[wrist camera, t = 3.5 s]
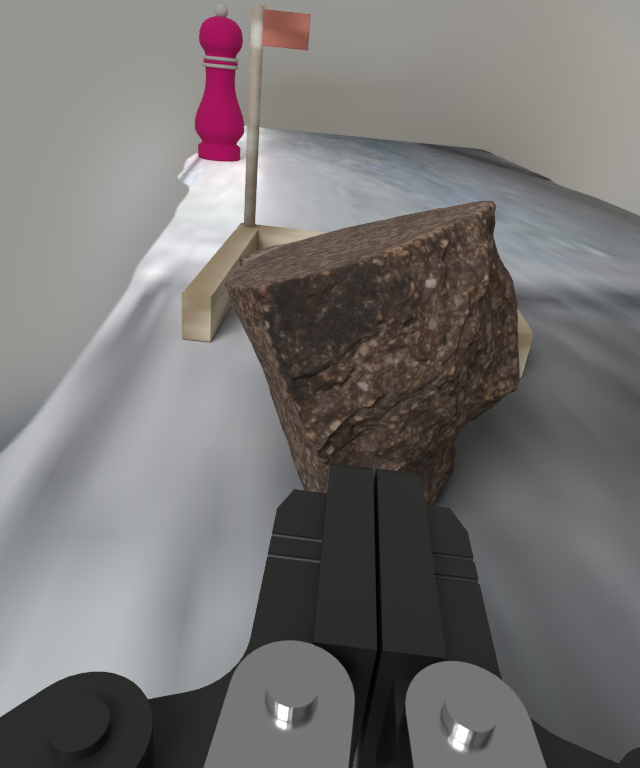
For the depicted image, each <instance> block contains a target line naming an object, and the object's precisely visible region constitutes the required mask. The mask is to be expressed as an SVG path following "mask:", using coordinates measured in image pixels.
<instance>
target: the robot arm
mask: <svg viewBox="0 0 640 768" xmlns="http://www.w3.org/2000/svg"><path fill="white" fill-rule="evenodd" d="M356 748H357V763H356V768H640V747H639V748H636V749H633V750H632V751H630V752H629V753H627V754H626V755H625V757H624V758H623V759H622V760H621V762H620V764H618V763H616V762H613V761H611V760H609V759H607V758H604V757H602V756H600V755H597V754H595V753H593V752H591V751H588V750H586V749H584V748H582V747H579V746H577V745H575V744H572V743H570V742H568V741H566V740H564V739H562V738H560V737H558V736H556V735H554V734H552V733H550V732H549V731H547V730H546V729H544V728H543V727H541V726H540V725H539V724H537V723H536V722H535V721H534V720H532V719H531V718H530V717H529V715H528V713H527V710H526V708H525V707H524V705H523V703H522V702H521V700H520V699H519V697H518V696H517V695H516V694H515V692H514V691H513V690H512V689H511V688H510V687H509V686H508V685H507V684H506V683H505V682H504V681H503V680H502V678H501V675H500V672H499V668H498V664H497V659H496V655H495V650H494V646H493V642H492V637H491V633H490V628H489V624H488V620H487V615H486V611H485V607H484V602H483V598H482V593H481V589H480V585H479V584H478V576H477V571H476V567H475V563H474V562H473V554H472V549H471V545H470V541H469V536H468V532H467V530H466V529H465V528H464V526H463V525H462V524H461V523H460V521H459V520H458V519H457V517H456V516H455V515H454V513H453V512H452V511H451V509H450V508H443V507H435V506H427V505H425V500H424V493H423V486H422V479H421V475H420V474H418V473H410V472H402V471H394V470H386V469H378V468H376V469H375V472H374V476H373V468H368V467H360V466H352V465H344V464H336V463H330V464H329V470H328V477H327V485H326V493H320V492H312V491H304V490H296V489H294V490H293V491H292V492H291V494H290V495H289V496H288V497H287V498H286V499H285V500H284V501H283V502H282V503H281V505H280V506H279V507H278V508H277V512H276V517H275V522H274V527H273V531H272V537H271V541H270V546H269V551H268V557H267V560H266V565H265V570H264V575H263V580H262V585H261V590H260V594H259V599H258V604H257V609H256V614H255V619H254V624H253V628H252V633H251V638H250V641H249V645H248V647H247V649H246V651H245V653H244V655H243V657H242V658H241V660H240V661H239V662H238V664H237V665H236V666H235V667H234V668H233V669H232V670H231V671H230V672H229V673H227V674H226V675H225V676H223V677H222V678H221V679H219V680H217V681H216V682H214V683H212V684H210V685H208V686H205V687H203V688H200V689H197V690H193V691H189V692H185V693H179V694H174V695H169V696H163V697H158V698H153V699H147V697H146V696H145V694H144V693H143V692H142V690H141V689H140V688H139V687H138V686H137V685H136V684H135V683H134V682H132V681H130V680H129V679H127V678H125V677H123V676H120V675H117V674H114V673H108V672H87V673H80V674H77V675H73V676H69V677H67V678H64V679H62V680H60V681H57V682H55V683H54V684H52V685H50V686H48V687H47V688H45V689H43V690H42V691H40V692H39V693H37V694H36V695H34V696H33V697H31V698H29V699H28V700H26V701H25V702H23V703H22V704H20V705H19V706H17V707H15V708H14V709H12V710H11V711H9V712H8V713H6V714H5V715H3V716H1V717H0V768H352V767H353V762H354V757H355V752H356Z"/></svg>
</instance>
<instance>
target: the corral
mask: <svg viewBox="0 0 640 768" xmlns="http://www.w3.org/2000/svg"><path fill="white" fill-rule="evenodd" d="M309 27H310V14H303V13H294V12H283V11H274V10H265V9H264V6H263V5H256V4H252V15H251V45H250V72H249V73H250V74H249V99H248V127H247V156H246V184H245V212H244V223H241V224H240V225H239V226H238V228H237V229H236V230H235V231H234V232H233V233H232V235H231V236H230V237H229V238H228V239H227V241H226V242H225V243H224V244H223V245H222V247H221V248H220V249H219V250H218V251H217V253H216V254H215V255H214V256H213V257H212V258H211V260H210V261H209V262H208V263H207V264H206V266H205V267H204V268H203V269H202V270H201V272H200V273H199V274H198V275H197V276H196V278H195V279H194V280H193V281H192V282H191V283H190V285H189V286H188V287H187V288H186V289H185V291H184V292H183V293H182V339H188V340H197V341H206V342H211V340H212V338H213V337H214V335H215V333H216V331H217V330H218V328H219V326H220V325H221V323H222V321H223V319H224V318H225V316H226V314H227V313H228V311H229V309H230V307H231V306H232V304H231V302H230V297H229V294H228V291H227V289H226V287H225V285H224V284H225V282H226V280H227V279H228V278H229V277H230V276H231V275H233V274H234V272H235V271H237V270H238V268H240V264H239V259H240V258H241V257H242V256H245V255H249V254H251V253H253V252H255V251H258V250H261V249H263V248H267V247H270V246H275V245H282V244H287V243H292V242H296V241H300V240H303V239H307V238H310V237H314V236H317V235H321V234H325V233H327V232H318V231H309V230H300V229H291V228H282V227H273V226H264V225H255V212H256V189H257V166H258V143H259V119H260V96H261V74H262V51H263V46H272V47H281V48H290V49H301V50H308V40H309ZM517 312H518V349H519V367H520V377H519V378H522V374H523V371H524V367H525V364H526V360H527V357H528V353H529V350H530V346H531V343H532V339H533V335H534V333H533V332H532V330H531V329H530V327H529V326H528V324H527V322H526V321H525V319H524V318H523V316H522V315H521V313H520V312H519V310H518V309H517Z"/></svg>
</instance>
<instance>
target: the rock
mask: <svg viewBox="0 0 640 768" xmlns="http://www.w3.org/2000/svg"><path fill="white" fill-rule="evenodd" d="M495 209H496V205H495V204H494V202H493V201H479V202H472V203H467V204H462V205H457V206H452V207H448V208H438V209H434V210H429V211H424V212H419V213H414V214H409V215H403V216H398V217H394V218H391V219H387V220H381V221H376V222H371V223H367V224H362V225H358V226H353V227H348V228H344V229H340V230H336V231H333V232H329V233H325V234H321V235H317V236H314V237H310V238H307V239H303V240H300V241H296V242H292V243H287V244H282V245H275V246H270V247H267V248H263V249H261V250H258V251H255V252H253V253H251V254H249V255H245V256H242V257H241V258H240V259H239V264H240V268H238V270H237V271H235V272H234V274H233V275H231V276H230V277H229V278H228V279H227V280H226V282H225V284H224V285H225V287H226V289H227V291H228V294H229V297H230V302H231V304H232V306H233V308H234V310H235V311H236V313H237V315H238V317H239V319H240V321H241V323H242V325H243V327H244V330H245V332H246V334H247V336H248V338H249V340H250V342H251V343H252V346H253V348H254V351H255V353H256V355H257V358H258V360H259V362H260V364H261V366H262V368H263V371H264V374H265V377H266V379H267V382H268V385H269V389H270V394H271V397H272V399H273V402H274V405H275V408H276V411H277V414H278V416H279V420H280V423H281V426H282V429H283V431H284V433H285V436H286V438H287V440H288V443H289V447H290V451H291V455H292V458H293V461H294V463H295V466H296V469H297V472H298V475H299V477H300V480H301V482H302V485H303V487H304V490H305V491H312V492H320V493H326V485H327V477H328V470H329V464H330V463H336V464H344V465H352V466H360V467H368V468H373V476H374V472H375V469H376V468H378V469H386V470H394V471H402V472H410V473H418V474H420V475H421V479H422V486H423V493H424V500H425V505H428V506H432V505H433V504H434V502H435V501H436V500H437V498H438V497H439V495H440V493H441V490H442V489H443V487H444V486H445V484H446V483H447V481H448V479H449V478H450V476H451V474H452V473H453V466H454V458H455V455H456V452H455V448H454V444H453V443H454V441H455V439H456V437H457V436H458V434H459V433H460V432H461V431H462V429H463V426H464V425H465V424H466V423H467V422H468V421H471V420H474V419H476V418H477V417H478V416H480V415H481V414H482V413H484V412H485V411H487V410H488V409H490V408H491V407H493V406H495V405H496V404H497V403H498V402H499V401H500V400H501V399H502V398H503V397H505V396H506V395H507V394H508V393H510V392H514V391H516V389H517V388H518V385H519V377H520V367H519V349H518V312H517V301H516V296H515V291H514V285H513V280H512V278H511V276H510V274H509V272H508V270H507V269H506V268H505V267H504V264H503V263H502V261H501V259H500V256H499V254H498V252H497V248H496V244H495V240H494V237H493V232H494V227H495V215H494V212H495Z"/></svg>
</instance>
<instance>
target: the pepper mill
mask: <svg viewBox="0 0 640 768" xmlns="http://www.w3.org/2000/svg"><path fill="white" fill-rule="evenodd" d="M215 13H216V15H217V16H215V17H211V18H209V19H207V20H205V21H204V22H203V24H202V25H201V28H200V33H199V41H200V44H201V46H202V48H203V49H204V51H205V54H206V56H205V55H204V56H203V58H204V63H203V66H205V67H206V84H205V85H206V86H205V91H204V95H203V98H202V101H201V103H200V106H199V108H198V110H197V114H196V118H195V130H196V132H197V134H198V135H199V136H200V138H201V139H202V143H200V144H199V145H198V156H199V157H201V158H204V159H209V160H216V161H237V160H239V159H240V147H239V146H237V145H236V144H237V142H238V141H239V139H240V138H241V137H242V136H243V133H244V122H243V116H242V113H241V110H240V107H239V104H238V101H237V98H236V92H235V70H237V69H238V67H237V65H238V64H237V62H238V59H236V55H237V53H238V52H239V51H240V49H241V48H242V43H243V39H242V32H241V29H240V28H239V26H238V25H237V24H236V23H235V22H234V21H232V20H231V19H229V18H226V16H227V14H228V9H227V7H226V5H224V4H222V3H219V4H218V5H217V6H216V7H215Z"/></svg>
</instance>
